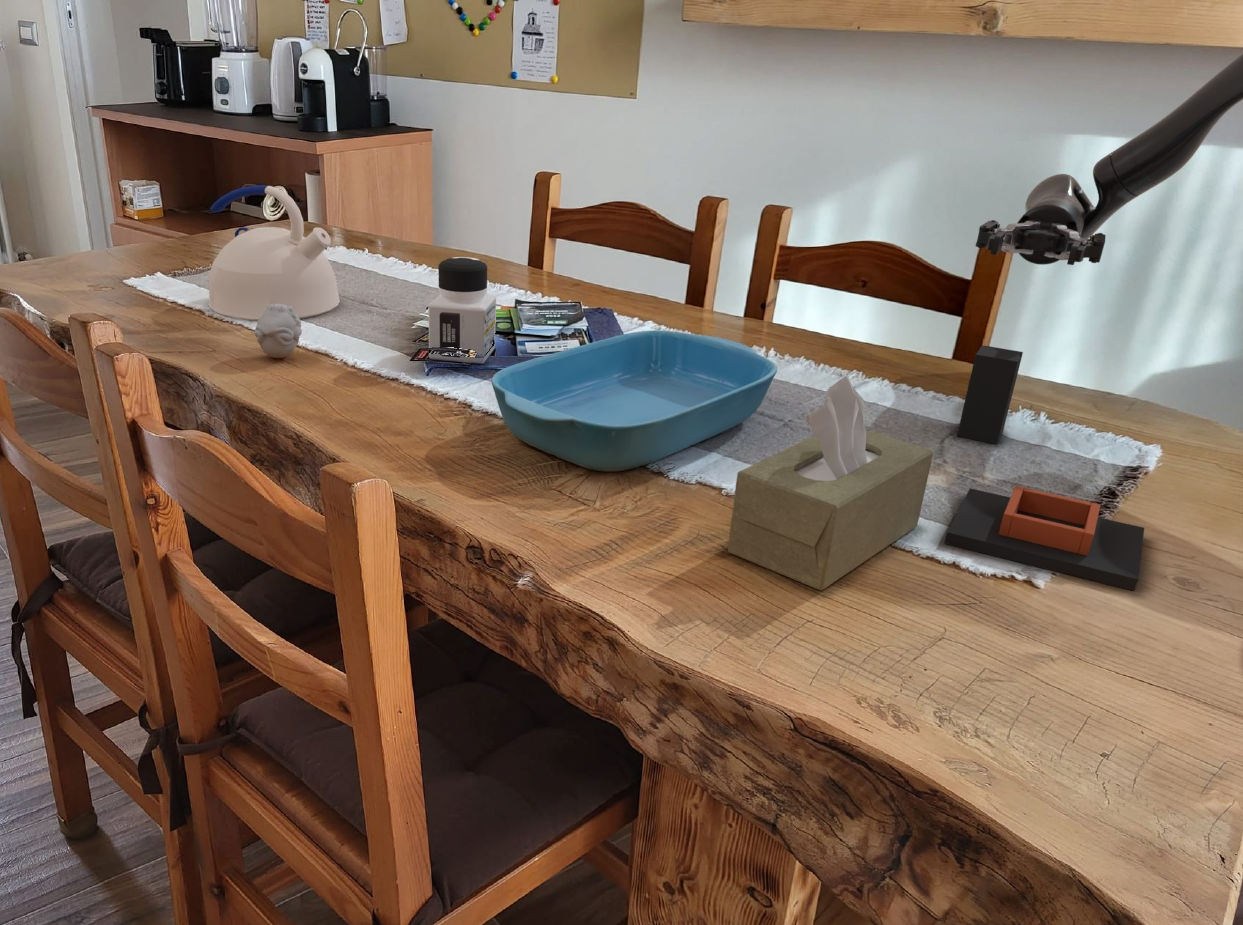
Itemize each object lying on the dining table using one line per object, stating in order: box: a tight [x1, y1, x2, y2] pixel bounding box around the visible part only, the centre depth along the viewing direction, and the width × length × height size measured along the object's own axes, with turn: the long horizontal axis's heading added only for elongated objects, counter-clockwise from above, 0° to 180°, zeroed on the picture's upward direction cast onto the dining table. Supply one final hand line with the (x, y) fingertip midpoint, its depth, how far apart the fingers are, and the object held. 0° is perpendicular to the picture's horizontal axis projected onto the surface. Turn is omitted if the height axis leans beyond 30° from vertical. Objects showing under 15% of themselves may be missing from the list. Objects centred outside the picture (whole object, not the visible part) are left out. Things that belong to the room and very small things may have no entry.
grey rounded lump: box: [254, 304, 303, 359], centre depth 139 cm, size 6×7×7 cm
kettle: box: [208, 184, 341, 322], centre depth 160 cm, size 20×21×18 cm
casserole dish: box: [491, 329, 778, 473], centre depth 120 cm, size 37×22×7 cm, turn 135°
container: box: [427, 256, 497, 365], centre depth 141 cm, size 8×8×13 cm
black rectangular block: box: [956, 344, 1024, 445], centre depth 121 cm, size 4×4×10 cm
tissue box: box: [727, 374, 934, 591], centre depth 94 cm, size 19×10×16 cm, turn 137°
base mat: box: [944, 485, 1145, 592], centre depth 98 cm, size 16×12×3 cm
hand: (1033, 251), depth 123 cm, fingers open, 8 cm apart
